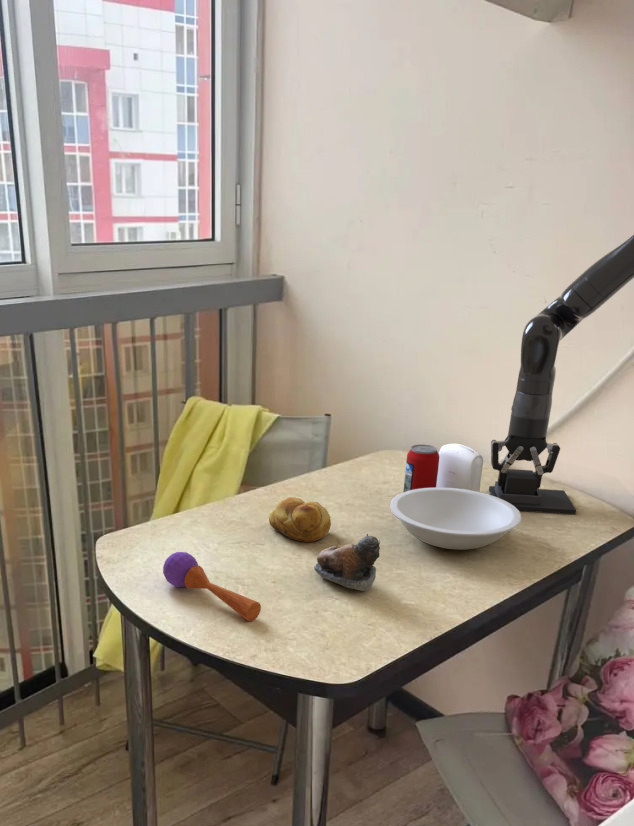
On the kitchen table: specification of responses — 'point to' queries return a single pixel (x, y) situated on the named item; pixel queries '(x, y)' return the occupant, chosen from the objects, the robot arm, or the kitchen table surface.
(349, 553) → the bison figurine
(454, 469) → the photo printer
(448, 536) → the soup bowl
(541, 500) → the base pad
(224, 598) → the purple toy maraca
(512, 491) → the black block
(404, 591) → the kitchen table surface
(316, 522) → the bread roll
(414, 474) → the beverage can
